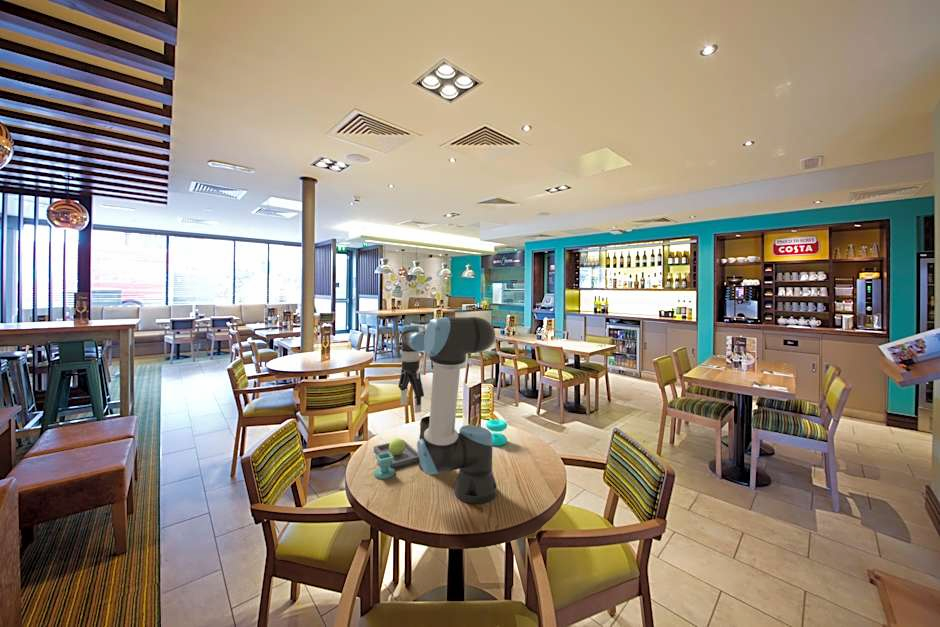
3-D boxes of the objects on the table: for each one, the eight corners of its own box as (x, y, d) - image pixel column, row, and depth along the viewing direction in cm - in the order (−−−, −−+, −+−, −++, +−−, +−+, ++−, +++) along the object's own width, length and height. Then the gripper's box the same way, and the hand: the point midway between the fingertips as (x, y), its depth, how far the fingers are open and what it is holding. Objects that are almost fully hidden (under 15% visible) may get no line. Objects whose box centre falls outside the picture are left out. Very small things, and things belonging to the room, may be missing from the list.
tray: (421, 461, 155) (421, 455, 155) (390, 469, 148) (390, 464, 147) (403, 444, 172) (403, 439, 172) (373, 451, 164) (373, 446, 164)
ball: (407, 455, 159) (407, 440, 158) (392, 459, 155) (392, 443, 154) (401, 449, 165) (401, 434, 164) (386, 453, 161) (386, 437, 160)
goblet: (398, 475, 143) (398, 457, 143) (378, 481, 139) (378, 462, 138) (390, 467, 150) (390, 450, 149) (371, 472, 145) (371, 454, 145)
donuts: (498, 427, 168) (482, 422, 175) (498, 448, 169) (481, 442, 175) (511, 421, 176) (494, 417, 182) (510, 442, 176) (494, 436, 183)
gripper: (432, 363, 152) (432, 414, 153) (405, 355, 173) (406, 400, 174) (415, 365, 148) (415, 417, 149) (391, 357, 168) (391, 402, 169)
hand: (410, 408), depth 161 cm, fingers open, 13 cm apart
